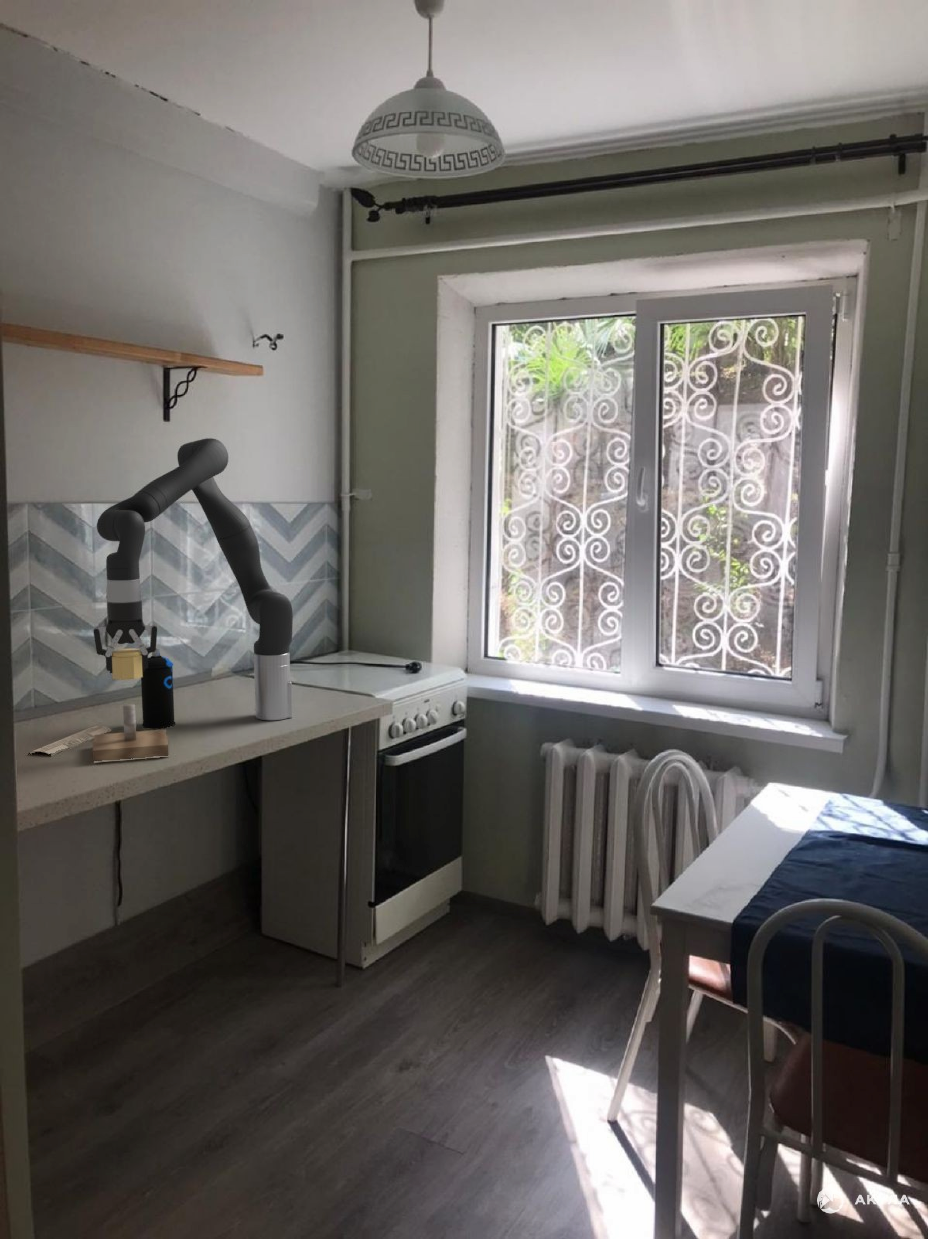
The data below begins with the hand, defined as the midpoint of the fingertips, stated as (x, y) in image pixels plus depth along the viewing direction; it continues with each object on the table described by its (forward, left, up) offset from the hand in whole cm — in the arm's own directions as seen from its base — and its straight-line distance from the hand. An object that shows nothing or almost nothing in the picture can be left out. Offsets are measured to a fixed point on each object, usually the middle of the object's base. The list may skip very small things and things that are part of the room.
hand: (127, 671), depth 227 cm
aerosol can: (-7, -24, -19) cm, 32 cm away
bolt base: (0, 0, -19) cm, 19 cm away
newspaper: (+13, -13, -20) cm, 27 cm away
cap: (0, 0, -1) cm, 1 cm away
